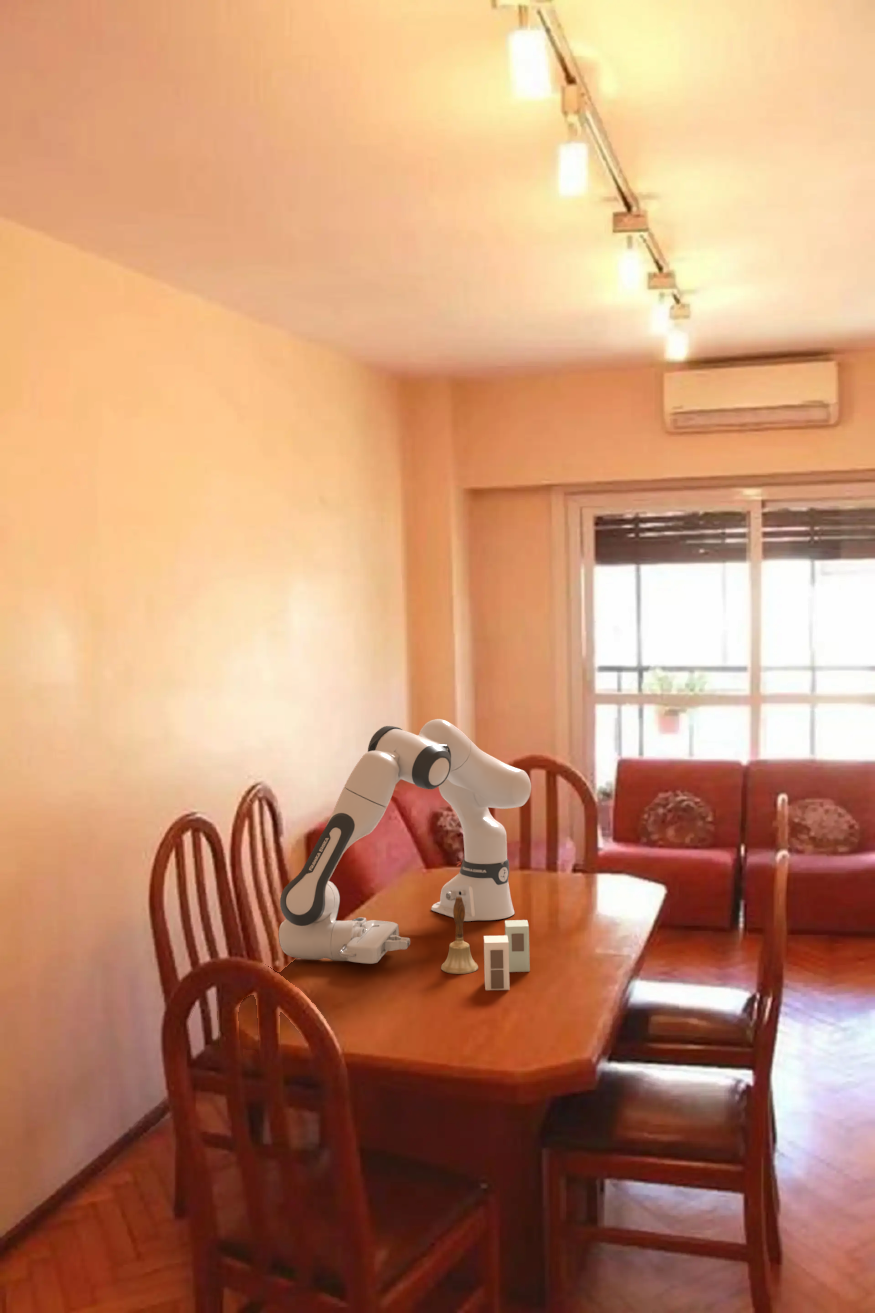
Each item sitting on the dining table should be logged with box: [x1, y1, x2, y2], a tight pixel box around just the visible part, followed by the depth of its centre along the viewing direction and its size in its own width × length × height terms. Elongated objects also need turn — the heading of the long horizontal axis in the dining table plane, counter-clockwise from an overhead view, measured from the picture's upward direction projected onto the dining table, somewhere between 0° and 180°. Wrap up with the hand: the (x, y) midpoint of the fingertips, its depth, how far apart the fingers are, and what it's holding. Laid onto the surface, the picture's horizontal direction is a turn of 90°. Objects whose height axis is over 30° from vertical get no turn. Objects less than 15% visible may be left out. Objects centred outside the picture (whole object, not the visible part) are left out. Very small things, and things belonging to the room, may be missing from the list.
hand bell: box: [440, 897, 479, 975], centre depth 252 cm, size 8×8×16 cm
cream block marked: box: [483, 934, 511, 991], centre depth 240 cm, size 5×5×10 cm
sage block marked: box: [504, 919, 531, 973], centre depth 251 cm, size 5×5×10 cm
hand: (408, 943), depth 255 cm, fingers closed
